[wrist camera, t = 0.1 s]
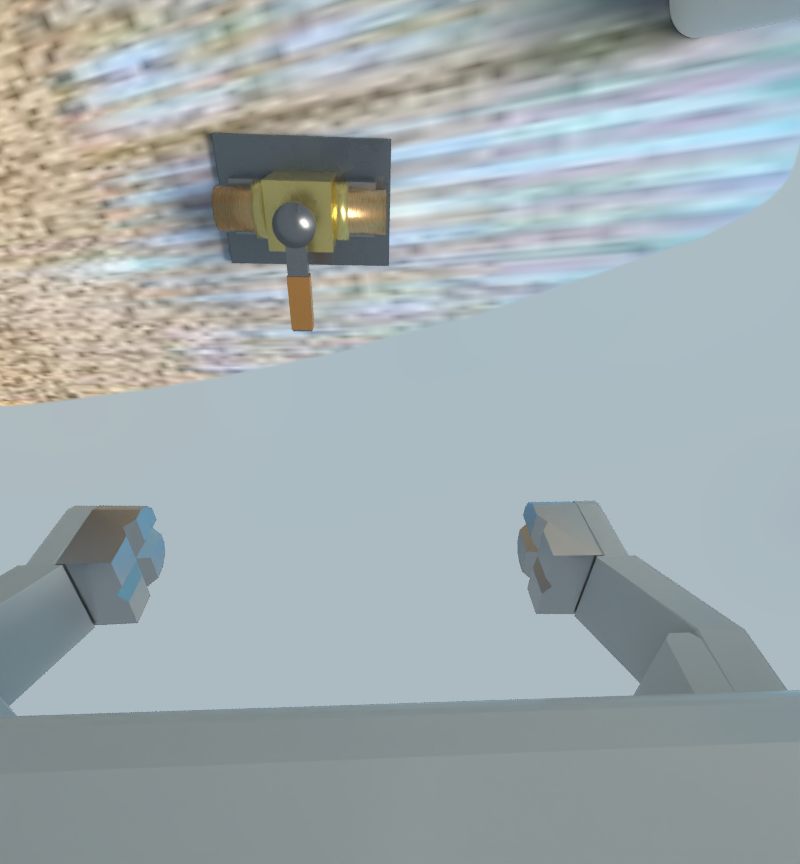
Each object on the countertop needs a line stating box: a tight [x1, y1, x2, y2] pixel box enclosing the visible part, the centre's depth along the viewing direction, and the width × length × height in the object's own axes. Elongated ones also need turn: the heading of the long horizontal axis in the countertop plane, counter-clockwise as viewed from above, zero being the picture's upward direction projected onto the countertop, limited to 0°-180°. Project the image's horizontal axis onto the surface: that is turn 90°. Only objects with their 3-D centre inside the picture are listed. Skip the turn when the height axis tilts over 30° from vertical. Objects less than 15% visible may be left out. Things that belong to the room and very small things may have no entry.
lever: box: [272, 201, 316, 331], centre depth 44 cm, size 11×4×1 cm, turn 178°
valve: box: [212, 133, 391, 266], centre depth 47 cm, size 12×17×10 cm
